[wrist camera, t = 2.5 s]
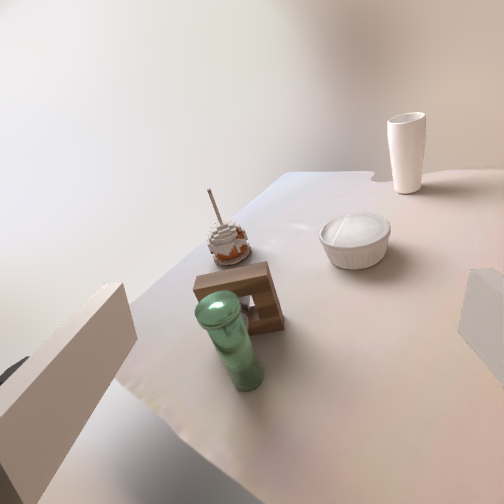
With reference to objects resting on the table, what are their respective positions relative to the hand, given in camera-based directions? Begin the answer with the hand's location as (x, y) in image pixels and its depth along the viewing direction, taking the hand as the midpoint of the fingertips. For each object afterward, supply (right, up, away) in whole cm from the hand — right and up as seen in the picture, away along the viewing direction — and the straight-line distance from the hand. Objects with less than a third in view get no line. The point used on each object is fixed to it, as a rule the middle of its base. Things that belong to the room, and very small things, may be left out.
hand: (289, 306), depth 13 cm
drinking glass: (+32, +16, +57) cm, 67 cm away
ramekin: (+17, +2, +43) cm, 46 cm away
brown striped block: (-2, -9, +35) cm, 36 cm away
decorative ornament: (-5, +1, +54) cm, 54 cm away
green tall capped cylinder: (-2, -11, +32) cm, 34 cm away
